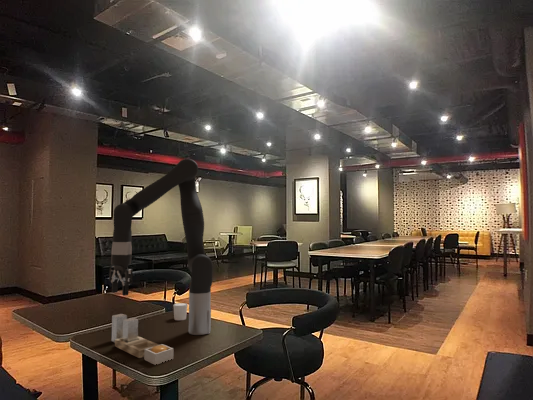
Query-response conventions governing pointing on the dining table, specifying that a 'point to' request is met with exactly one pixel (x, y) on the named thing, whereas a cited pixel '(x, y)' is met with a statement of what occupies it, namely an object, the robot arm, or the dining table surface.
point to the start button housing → (158, 355)
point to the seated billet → (130, 330)
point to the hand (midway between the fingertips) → (119, 293)
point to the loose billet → (117, 326)
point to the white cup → (180, 311)
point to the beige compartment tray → (135, 346)
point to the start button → (159, 348)
